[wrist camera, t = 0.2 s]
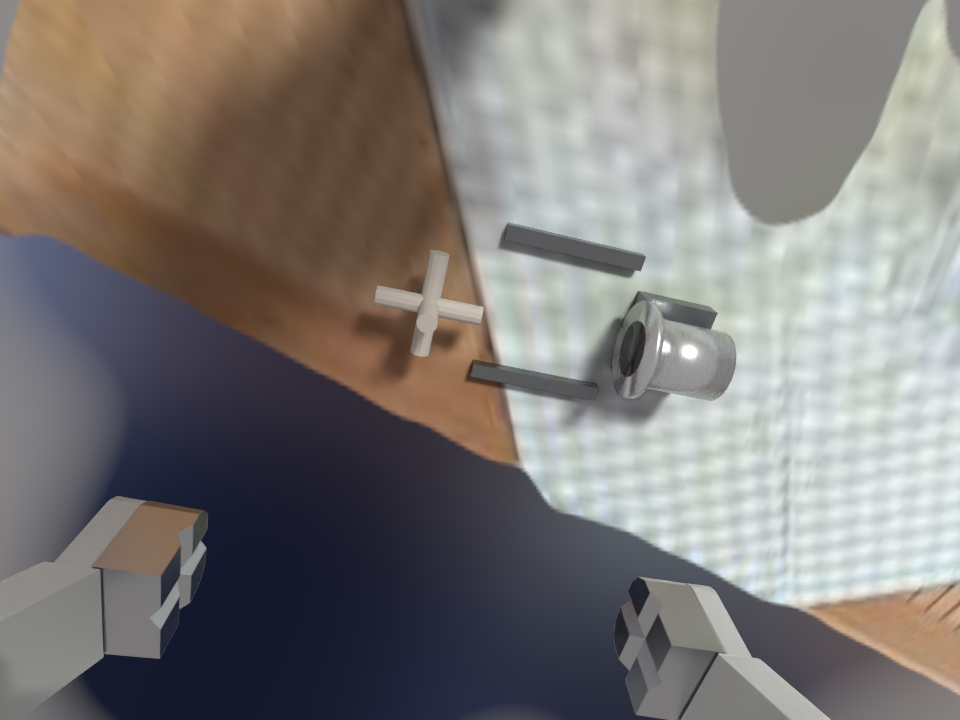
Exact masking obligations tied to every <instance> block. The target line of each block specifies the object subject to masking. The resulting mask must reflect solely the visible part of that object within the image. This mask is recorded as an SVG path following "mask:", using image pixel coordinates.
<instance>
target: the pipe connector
mask: <svg viewBox="0 0 960 720" xmlns="http://www.w3.org/2000/svg"><path fill="white" fill-rule="evenodd" d="M449 257H450V255H449V254H448V253H446V252H443V251H438V250H431V251H430V254H429V259H428V264H427V269H426V274H425V279H424V284H423V287H422V293H421V294H418V293H413V292H408V291H404V290H399V289H394V288H389V287H384V286H380V285H378V286H377V290H376V295H375V301H374V304H376V305H381V306H386V307H391V308H396V309H401V310H406V311H411V312H416V313H418V314H417V319H416V324H415V330H414V335H413V340H412V345H411V350H410V351H411V353H412V354H414V355H417V356H423V357H424V356H428V355H429V351H430V346H431V341H432V337H433V332H434V330H435V329H436V328H437V326H438V317H440V318H445V319H450V320H455V321H460V322H465V323H470V324H475V325H480V323H481V319H482V315H483V307H481V306H476V305H471V304H466V303H462V302H457V301H452V300H447V299H442V298H441V294H442V290H443V285H444V280H445V275H446V271H447V266H448V261H449Z"/></svg>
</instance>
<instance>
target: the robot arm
mask: <svg viewBox="0 0 960 720" xmlns="http://www.w3.org/2000/svg"><path fill="white" fill-rule="evenodd" d="M207 525H208V514H207V513H206V512H205V511H203V510H197V509H192V508H186V507H180V506H174V505H168V504H163V503H158V502H152V501H142V500H137V499H131V498H126V497H120V496H117V497H115V498H113V499H111V500H109V501H108V502H107V503H106V504H105V505H104V506H103V508H102V509H101V510H100V511H99V512H98V513H97V514H96V516H95V517H94V518H93V519H92V520H91V521H90V522H89V523H88V524H87V526H86V527H85V528H84V529H83V530H82V531H81V532H80V533H79V535H78V536H77V537H76V538H75V539H74V541H72V543H71V544H70V545H69V546H68V547H67V548H66V549H65V550H64V551H63V553H62V554H61V555H60V556H59V557H58V558H57V559H56V561H55V562H54V563H50V562H42V563H40V564H37V565H35V566H33V567H31V568H29V569H26V570H24V571H22V572H20V573H17V574H15V575H13V576H11V577H8V578H6V579H4V580H2V581H0V720H19V719H21V718H22V717H23V716H25V715H26V714H27V713H29V712H30V711H31V710H33V709H34V708H35V707H37V706H38V705H39V704H41V703H42V702H43V701H45V700H46V699H48V698H49V697H50V696H52V695H53V694H54V693H56V692H57V691H58V690H60V689H61V688H62V687H64V686H65V685H66V684H68V683H69V682H70V681H72V680H73V679H75V678H76V677H77V676H79V675H80V674H81V673H83V672H84V671H85V670H87V669H88V668H89V667H91V666H92V665H94V664H95V663H96V662H98V661H99V660H100V659H102V658H103V655H104V654H112V655H123V656H134V657H146V658H157V659H160V657H161V656H162V654H163V652H164V650H165V648H166V646H167V644H168V642H169V641H170V639H171V637H172V635H173V633H174V632H175V630H176V628H177V626H178V622H179V609H181V608H182V607H184V606H185V605H187V604H188V603H190V602H191V600H192V597H193V596H194V594H195V592H196V590H197V588H198V585H199V582H200V579H201V576H202V573H203V569H204V565H205V560H206V547H205V546H204V544H203V543H202V542H201V539H202V537H203V536H204V534H205V532H206V530H207V528H208V526H207ZM628 592H629V595H630V598H631V601H630V602H629V603H627V604H626V605H624V606H622V607H621V608H620V610H619V613H618V615H617V618H616V620H615V630H614V640H615V648H616V651H617V654H618V658H619V660H620V661H621V662H622V663H623V664H624V665H625V666H626V667H627V668H628V670H629V673H628V676H627V678H626V680H625V681H626V685H627V688H628V691H629V694H630V698H631V701H632V704H633V707H634V710H635V714H636V715H641V716H647V717H654V718H661V719H668V720H830V719H829V718H828V717H827V716H826V715H824V714H823V713H822V712H821V711H820V710H818V708H816V707H815V706H814V705H813V704H812V703H811V702H809V701H808V700H807V699H806V698H805V697H804V696H802V695H801V694H800V693H799V692H798V691H797V690H795V689H794V688H793V687H792V686H791V685H790V684H788V683H787V682H786V681H784V679H782V678H781V677H780V676H779V675H778V674H777V673H775V672H774V671H773V670H772V669H771V668H770V667H768V666H767V665H766V664H765V663H764V662H762V661H761V660H760V659H757V658H752V657H751V655H750V653H749V651H748V649H747V648H746V646H745V644H744V642H743V640H742V639H741V637H740V635H739V633H738V631H737V629H736V628H735V626H734V624H733V622H732V620H731V619H730V617H729V615H728V613H727V611H726V609H725V608H724V606H723V604H722V602H721V600H720V599H719V597H718V595H717V593H716V592H715V591H714V590H713V589H712V588H711V587H709V586H702V585H694V584H687V583H686V584H683V583H677V582H671V581H664V580H657V579H649V578H643V577H637V578H636V579H635V580H634V581H633V582H632V584H631V586H630V588H629V590H628Z"/></svg>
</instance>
